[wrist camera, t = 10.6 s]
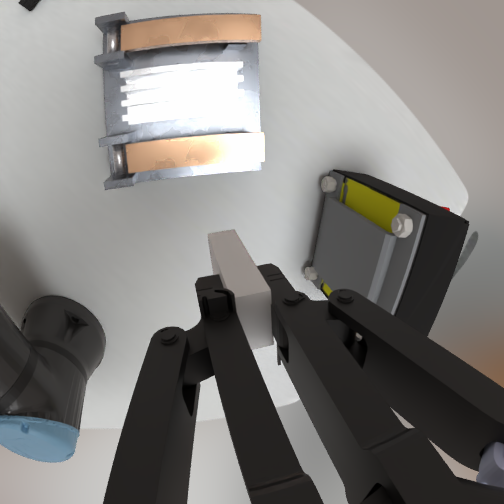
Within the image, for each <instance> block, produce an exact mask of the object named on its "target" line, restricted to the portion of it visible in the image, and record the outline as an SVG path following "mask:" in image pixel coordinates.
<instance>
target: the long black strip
mask: <svg viewBox="0 0 504 504" xmlns="http://www.w3.org/2000/svg"><path fill="white" fill-rule="evenodd" d="M37 1H38V0H20V2H19V4H20V5H22V6H23V7H25V8H26V9H28V10H29V11H31V10H32V9H33V7H34V6H35V4H36V2H37Z"/></svg>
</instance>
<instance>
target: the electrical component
mask: <svg viewBox="0 0 504 504" xmlns="http://www.w3.org/2000/svg"><path fill="white" fill-rule="evenodd" d="M321 187H322V190H323V192H326V196H325V202H324V207H323V213H322V218H321V223H320V228H319V233H318V238H317V243H316V248H315V253H314V258H313V262H312V267H306V269H305V279H306V280H311V281H312V282H313V284H314V285H315V286H316V287H317V289H320V290H321V291H322V292H323V294H324V295H325V296H326V297H327V299H328V297H329V295H330V293H331V292H333V291H334V290H338V289H350V290H353V291H356V292H358V293H359V294H361V295H362V296H364V297H365V298H367V299H369V300H370V301H372V302H373V303H375V304H376V305H378V306H380V307H381V308H383V309H384V310H386V311H387V312H389V313H391V314H392V315H394V316H395V317H397V318H398V319H400V320H402V321H403V322H405V323H406V324H408V325H409V326H411V327H412V328H414V329H415V330H417V331H419V332H420V333H422V334H423V335H425V336H426V337H427V336H428V334H429V332H430V329H431V327H432V325H433V323H434V321H435V318H436V316H437V314H438V311H439V309H440V307H441V304H442V302H443V299H444V297H445V294H446V292H447V289H448V287H449V284H450V282H451V279H452V276H453V273H454V271H455V268H456V265H457V262H458V259H459V256H460V253H461V250H462V247H463V244H464V240H465V237H466V234H467V230H468V226H469V221H467V220H465V219H464V218H462V217H460V216H458V215H456V214H454V213H452V212H450V209H449V208H446V207H441V206H438V205H436V204H434V203H432V202H429V201H427V200H425V199H423V198H421V197H419V196H416V195H414V194H412V193H410V192H408V191H405V190H403V189H401V188H398V187H396V186H394V185H391V184H389V183H387V182H384V181H382V180H379V179H377V178H375V177H372V176H370V175H366V174H360V173H354V172H347V171H341V170H334V169H333V171H330V174H329V177H328V176H326V177H324V178H323V179H322V182H321ZM356 336H357V337H358V338H360V339H362V336H360V335H359V334H358V333H356Z"/></svg>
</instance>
